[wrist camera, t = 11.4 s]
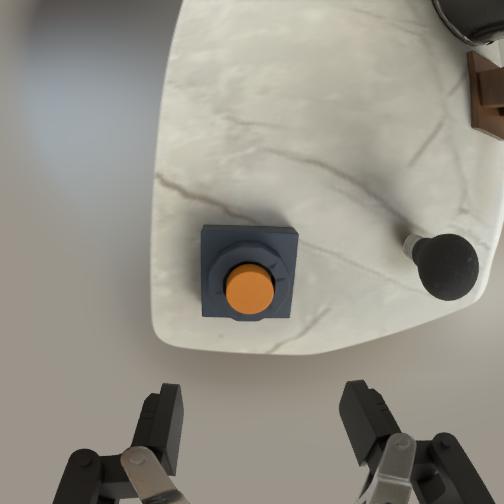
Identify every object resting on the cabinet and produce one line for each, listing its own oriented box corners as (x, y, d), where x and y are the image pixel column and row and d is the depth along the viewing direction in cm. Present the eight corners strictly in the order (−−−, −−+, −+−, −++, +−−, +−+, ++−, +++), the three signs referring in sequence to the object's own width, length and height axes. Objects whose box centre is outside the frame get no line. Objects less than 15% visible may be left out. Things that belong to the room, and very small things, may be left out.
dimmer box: (203, 224, 26) (198, 236, 22) (293, 227, 26) (303, 239, 22) (204, 305, 28) (200, 327, 24) (286, 307, 29) (293, 328, 25)
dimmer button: (226, 262, 23) (226, 271, 21) (272, 263, 23) (275, 272, 22) (226, 303, 24) (225, 314, 22) (269, 304, 24) (272, 314, 23)
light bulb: (385, 220, 26) (448, 251, 17) (429, 213, 27) (494, 240, 17) (385, 273, 28) (439, 320, 19) (427, 263, 28) (485, 302, 19)
